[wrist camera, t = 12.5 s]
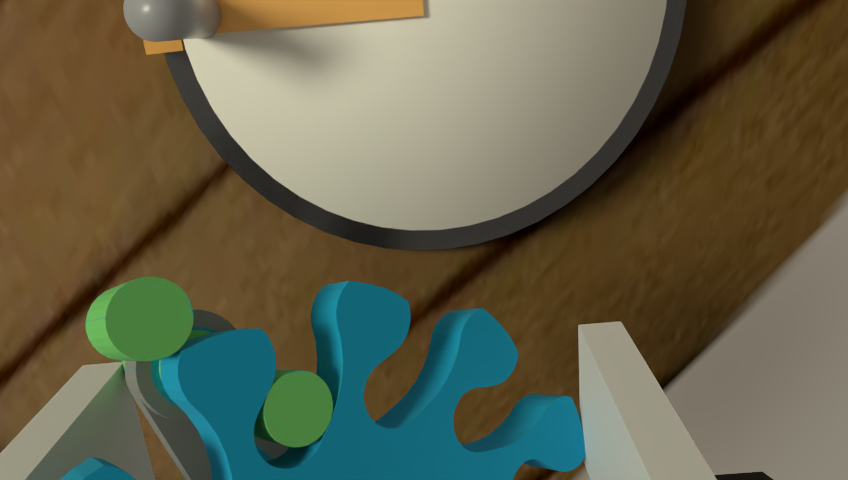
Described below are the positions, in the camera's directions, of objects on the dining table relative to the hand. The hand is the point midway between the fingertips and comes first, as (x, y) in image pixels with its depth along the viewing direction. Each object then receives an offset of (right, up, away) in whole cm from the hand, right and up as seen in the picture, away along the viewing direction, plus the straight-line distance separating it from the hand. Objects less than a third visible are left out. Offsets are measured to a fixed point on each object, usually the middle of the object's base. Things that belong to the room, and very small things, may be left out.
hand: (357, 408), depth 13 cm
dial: (+1, +11, +10) cm, 15 cm away
